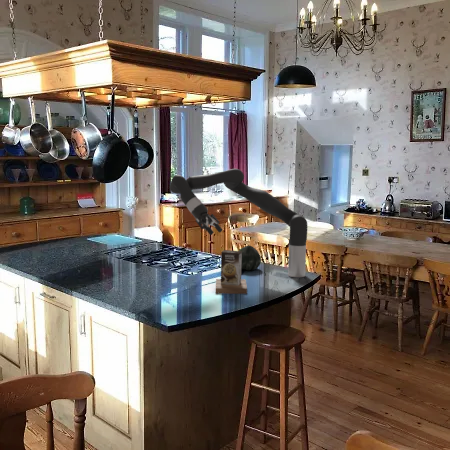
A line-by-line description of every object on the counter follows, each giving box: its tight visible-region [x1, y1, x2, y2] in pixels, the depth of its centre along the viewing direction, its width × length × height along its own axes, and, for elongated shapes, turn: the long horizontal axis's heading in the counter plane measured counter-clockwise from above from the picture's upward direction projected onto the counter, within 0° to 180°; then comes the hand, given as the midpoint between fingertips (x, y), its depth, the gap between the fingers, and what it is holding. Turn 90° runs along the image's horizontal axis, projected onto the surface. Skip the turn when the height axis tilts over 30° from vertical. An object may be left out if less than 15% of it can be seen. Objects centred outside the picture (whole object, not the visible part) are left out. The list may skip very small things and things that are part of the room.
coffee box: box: [220, 249, 242, 286], centre depth 249 cm, size 9×6×16 cm
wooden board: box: [215, 278, 248, 295], centre depth 250 cm, size 17×15×2 cm
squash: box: [238, 245, 262, 272], centre depth 289 cm, size 14×15×15 cm
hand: (216, 232), depth 251 cm, fingers open, 8 cm apart
